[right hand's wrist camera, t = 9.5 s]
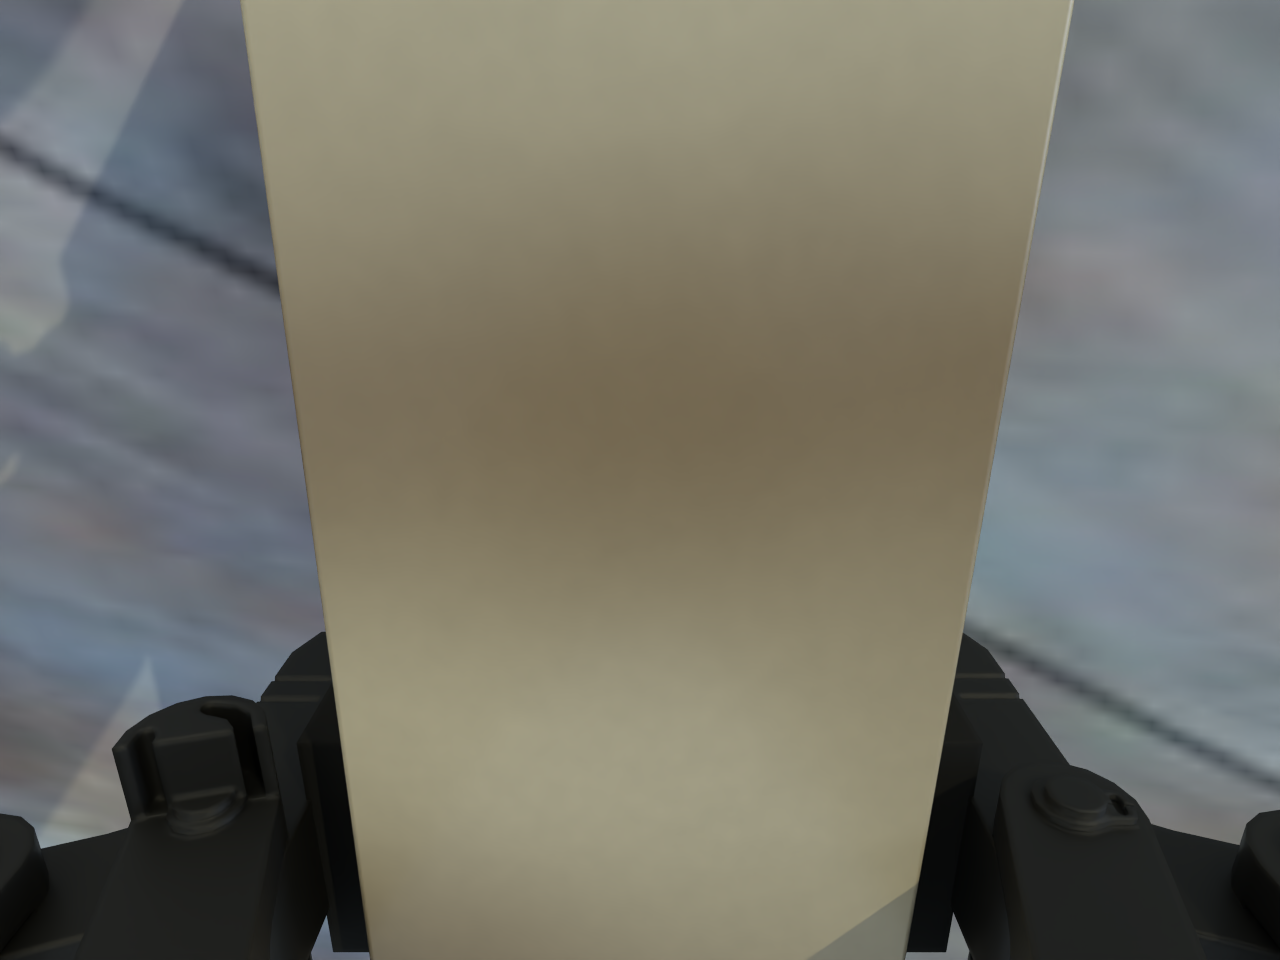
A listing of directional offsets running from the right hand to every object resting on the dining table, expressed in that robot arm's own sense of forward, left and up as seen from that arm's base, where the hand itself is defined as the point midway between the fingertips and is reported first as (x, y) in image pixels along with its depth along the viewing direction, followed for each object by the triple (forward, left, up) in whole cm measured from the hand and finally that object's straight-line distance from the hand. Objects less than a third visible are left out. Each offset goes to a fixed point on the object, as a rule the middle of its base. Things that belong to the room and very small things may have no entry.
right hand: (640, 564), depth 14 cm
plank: (+9, 0, -1) cm, 9 cm away
